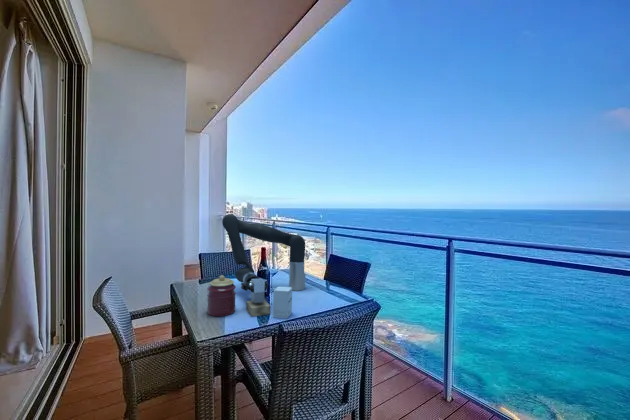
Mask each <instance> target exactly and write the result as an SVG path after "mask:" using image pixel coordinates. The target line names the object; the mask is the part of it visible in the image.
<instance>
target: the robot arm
mask: <svg viewBox="0 0 630 420" xmlns="http://www.w3.org/2000/svg"><path fill="white" fill-rule="evenodd" d="M221 223H222V227H223V228H224V230H225V231H226V233H227V236H228V239H229V241H230V242H229V243H230V249H231V253H232V256H233V259H234V262H235V265H237V266H240V265H243V266H245V267H241V268H239V269H237V270H236V271H235V278H236V280H237V281H238V282H240V288H241V289H242V290H244V291H246V292H247V291H248V290H249V292H252V293H253V292H254V287H253V286H252V285H251V279H258V278H259V276H258V275H257V274H255V270H254V267H252V265H251V264H250V261H249V260H248V256H247V253H246V250H245V246H244V244H243V242H242V239H241V235H240V234H242V235H245V236H249V237H251V238H253V239H257V240H260V241H263V242H266V243H273V244H274V243H275V244H276V243H277V244H281V245H285V246H287V247H289V271H288V273H289V275H288V277H289V280H288V281H289V282H288V287H292V292H295V291H296V292H299V291H304V290H306V273H305V258H306V241H305V238H304V237H303V236H302V235H299V234H293V233H289V232H285V231H282V230H279V229H276V228H274V227H271V226H268V225H265V224H261V223H250V222H245V221H243V220H241V219H239V218H238V217H237V216H236V215H235V214H232V213H228V214H226V215H224V217H223V218H222V222H221ZM264 281H265V290H264V292H266V291H267V290H268V289H269V280H264Z"/></svg>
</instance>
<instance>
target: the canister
mask: <svg viewBox="0 0 630 420" xmlns="http://www.w3.org/2000/svg"><path fill="white" fill-rule="evenodd" d="M234 283H235V281H234V280H232V279H231V278H228V277H225V276H224V275H223V274H221V275H219V277H218V278H215V279H212V281H210V282H209V284H208V285H209V286H208V287H207V291H208V293H207V295H206V296H207V307H206V311H207V314H208V315H209V316H210V317H211V316H212V317H224V316H225V317H226V316H229V315H231V314H233V313H234V312H235V310H236V294H237V293H236V291H235V289H236V285H235V284H234Z"/></svg>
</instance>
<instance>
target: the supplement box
mask: <svg viewBox="0 0 630 420" xmlns="http://www.w3.org/2000/svg"><path fill="white" fill-rule="evenodd" d="M272 293H273V295H272V297H273V299H272V317H273V318H277V319H285V320H286V319H289V317H290V315H291V314H292V313H293V312H292V311H293V310H292V309H293V290H292V287H289V286H276V288H275V289H274V290H273V292H272Z"/></svg>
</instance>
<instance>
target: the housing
mask: <svg viewBox="0 0 630 420" xmlns="http://www.w3.org/2000/svg"><path fill="white" fill-rule="evenodd" d="M265 281H266V280H264V279H263V278H262V277H261V278H260V277H258V279H251V285H252V286H253V287H254V292H253V293H252V292H251V291H250V292H251V293H250V301H251V300H252V301H253V303H260V302H264V299H265V291H264V290H265Z"/></svg>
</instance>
